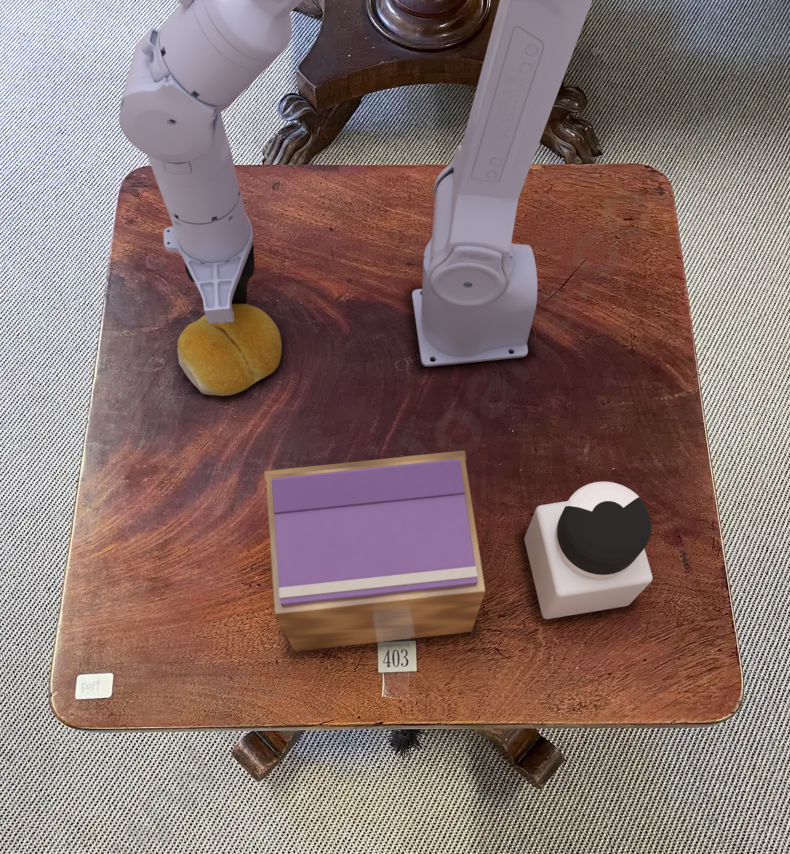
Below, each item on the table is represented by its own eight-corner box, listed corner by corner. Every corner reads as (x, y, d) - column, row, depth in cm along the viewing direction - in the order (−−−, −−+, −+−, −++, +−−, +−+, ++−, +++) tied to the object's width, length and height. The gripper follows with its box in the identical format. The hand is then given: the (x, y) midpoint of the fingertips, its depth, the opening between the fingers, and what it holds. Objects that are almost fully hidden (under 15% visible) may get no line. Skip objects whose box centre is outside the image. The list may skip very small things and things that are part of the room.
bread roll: (300, 360, 76) (295, 335, 73) (215, 414, 74) (206, 392, 71) (248, 298, 79) (240, 271, 75) (165, 349, 77) (153, 324, 73)
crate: (455, 509, 71) (465, 449, 60) (473, 631, 67) (487, 591, 57) (284, 527, 71) (263, 470, 60) (292, 651, 67) (272, 614, 56)
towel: (458, 462, 60) (459, 456, 59) (477, 584, 57) (478, 580, 56) (273, 481, 60) (271, 476, 59) (281, 606, 56) (279, 602, 56)
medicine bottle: (630, 606, 68) (675, 559, 57) (542, 621, 68) (570, 576, 57) (607, 523, 71) (646, 462, 59) (522, 536, 70) (546, 478, 59)
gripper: (148, 124, 67) (187, 239, 79) (148, 278, 62) (191, 375, 74) (238, 116, 67) (264, 232, 80) (247, 269, 62) (272, 367, 74)
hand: (234, 301), depth 77 cm, fingers closed
